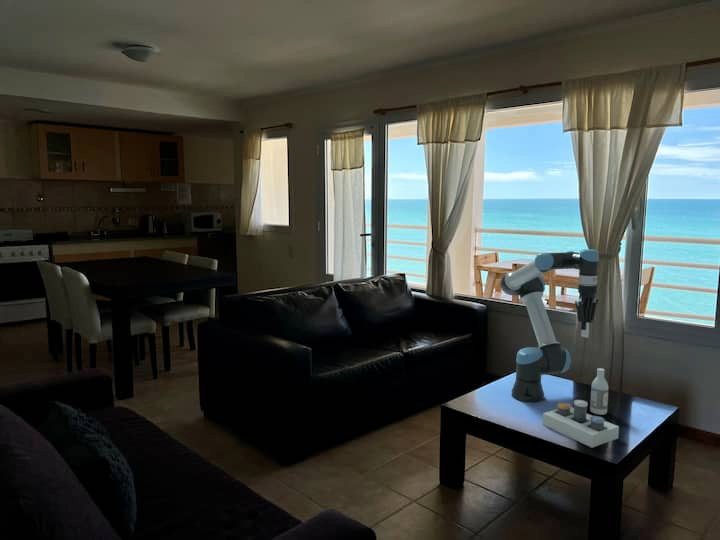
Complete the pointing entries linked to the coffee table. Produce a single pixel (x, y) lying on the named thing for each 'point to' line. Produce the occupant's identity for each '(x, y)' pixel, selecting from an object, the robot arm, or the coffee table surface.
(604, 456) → the coffee table surface
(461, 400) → the coffee table surface
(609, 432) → the mount
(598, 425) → the knob
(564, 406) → the knob
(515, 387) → the robot arm
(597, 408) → the bath foam
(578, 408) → the knob
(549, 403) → the coffee table surface
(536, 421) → the coffee table surface
